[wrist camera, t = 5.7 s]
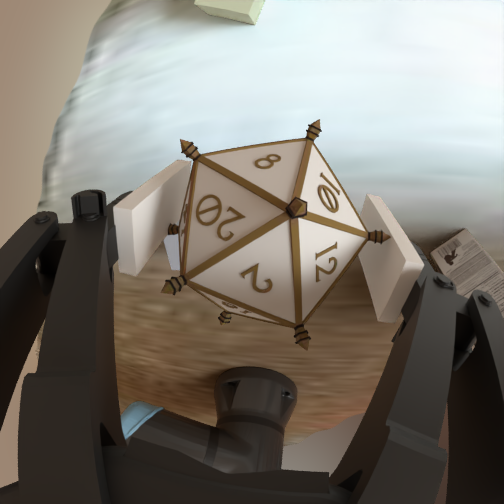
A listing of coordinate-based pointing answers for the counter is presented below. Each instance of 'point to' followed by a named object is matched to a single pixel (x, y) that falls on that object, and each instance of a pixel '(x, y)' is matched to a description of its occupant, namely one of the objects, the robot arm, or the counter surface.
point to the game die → (266, 231)
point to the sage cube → (233, 9)
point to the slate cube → (173, 250)
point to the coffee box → (470, 267)
